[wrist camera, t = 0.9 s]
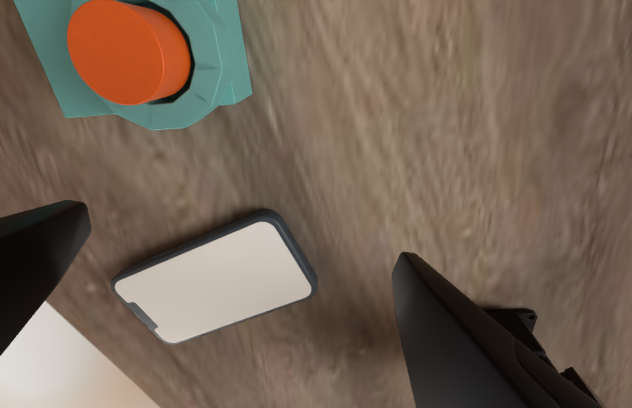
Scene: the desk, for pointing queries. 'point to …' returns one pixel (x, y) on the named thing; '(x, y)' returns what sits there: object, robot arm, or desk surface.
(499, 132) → the desk surface
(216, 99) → the cap block
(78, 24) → the orange short cylinder
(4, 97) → the desk surface
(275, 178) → the desk surface
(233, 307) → the phone case
